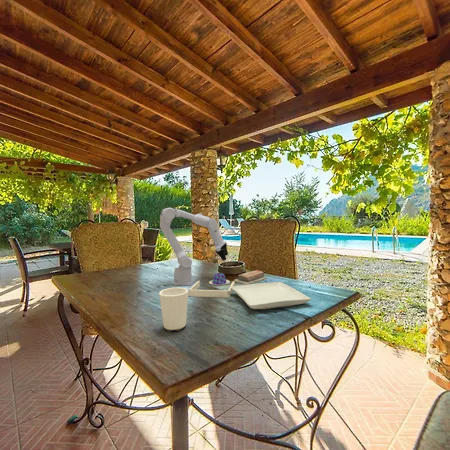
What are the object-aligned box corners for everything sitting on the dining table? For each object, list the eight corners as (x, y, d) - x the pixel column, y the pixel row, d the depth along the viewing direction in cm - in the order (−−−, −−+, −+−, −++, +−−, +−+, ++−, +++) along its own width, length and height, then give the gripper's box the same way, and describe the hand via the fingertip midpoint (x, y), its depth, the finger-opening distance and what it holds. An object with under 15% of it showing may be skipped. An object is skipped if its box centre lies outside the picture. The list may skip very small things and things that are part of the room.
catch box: (188, 296, 123) (188, 290, 123) (198, 286, 140) (198, 280, 140) (229, 297, 120) (229, 291, 120) (234, 287, 137) (234, 281, 136)
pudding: (234, 282, 146) (234, 273, 146) (219, 287, 138) (218, 277, 138) (219, 279, 155) (219, 270, 154) (204, 283, 146) (204, 274, 146)
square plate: (249, 314, 99) (249, 304, 99) (230, 293, 125) (229, 285, 125) (312, 306, 106) (311, 297, 106) (280, 288, 132) (280, 280, 132)
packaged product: (253, 268, 159) (266, 271, 152) (253, 276, 160) (267, 279, 153) (233, 274, 147) (246, 277, 140) (233, 282, 147) (247, 285, 140)
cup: (188, 333, 85) (187, 295, 85) (158, 335, 85) (156, 296, 84) (190, 320, 95) (188, 286, 95) (162, 322, 94) (161, 287, 94)
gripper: (221, 238, 145) (230, 260, 147) (224, 231, 159) (233, 251, 161) (209, 242, 146) (218, 263, 149) (214, 235, 160) (222, 254, 163)
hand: (225, 257), depth 155 cm, fingers open, 7 cm apart
